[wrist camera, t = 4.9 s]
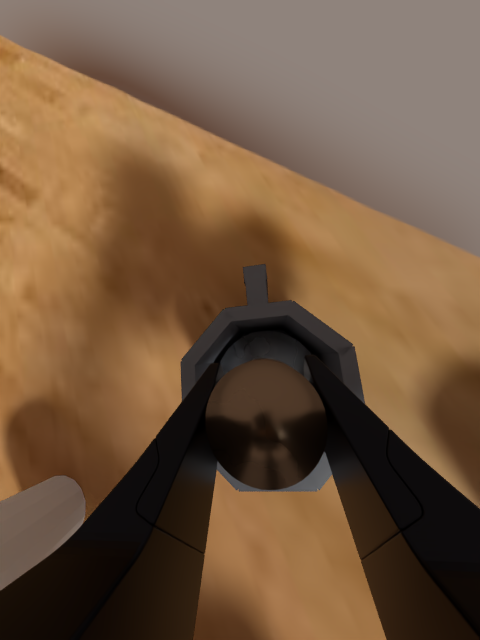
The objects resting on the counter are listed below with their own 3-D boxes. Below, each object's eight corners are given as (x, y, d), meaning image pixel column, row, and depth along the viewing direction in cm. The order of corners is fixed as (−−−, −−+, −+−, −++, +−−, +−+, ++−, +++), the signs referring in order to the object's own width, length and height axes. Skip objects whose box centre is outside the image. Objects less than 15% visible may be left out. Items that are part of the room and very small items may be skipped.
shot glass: (105, 495, 18) (6, 581, 11) (65, 571, 18) (-64, 709, 11) (52, 452, 20) (-65, 506, 13) (13, 522, 19) (-131, 616, 12)
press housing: (345, 441, 16) (407, 514, 9) (211, 445, 18) (168, 511, 10) (320, 287, 18) (353, 244, 11) (203, 302, 20) (163, 272, 12)
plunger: (327, 433, 13) (427, 573, 5) (222, 437, 14) (152, 560, 6) (311, 326, 14) (369, 290, 6) (215, 336, 15) (149, 316, 7)
